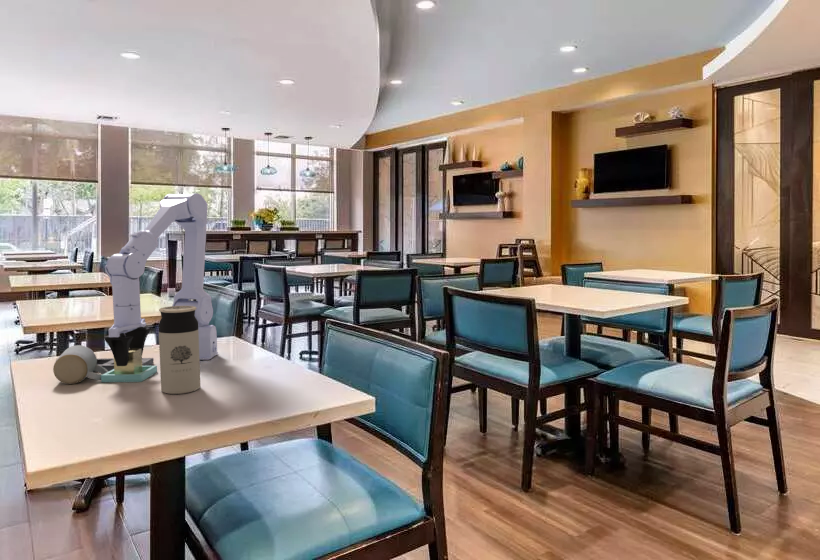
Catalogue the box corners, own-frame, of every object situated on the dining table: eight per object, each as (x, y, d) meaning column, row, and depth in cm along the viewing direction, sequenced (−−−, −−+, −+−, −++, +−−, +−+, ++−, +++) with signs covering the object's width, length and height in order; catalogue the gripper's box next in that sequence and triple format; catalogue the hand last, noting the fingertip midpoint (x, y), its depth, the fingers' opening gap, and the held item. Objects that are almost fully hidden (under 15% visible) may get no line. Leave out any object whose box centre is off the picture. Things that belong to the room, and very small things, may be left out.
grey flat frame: (153, 363, 151) (153, 357, 150) (140, 371, 143) (140, 365, 142) (83, 364, 150) (82, 358, 150) (65, 371, 142) (65, 365, 142)
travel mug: (165, 386, 129) (162, 306, 128) (202, 383, 131) (200, 304, 129) (157, 396, 122) (153, 311, 120) (197, 393, 123) (194, 309, 122)
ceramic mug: (51, 386, 129) (50, 352, 128) (61, 377, 137) (60, 345, 136) (104, 383, 132) (103, 350, 131) (111, 374, 140) (110, 343, 139)
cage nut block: (123, 373, 139) (122, 348, 139) (142, 372, 139) (141, 347, 139) (114, 377, 135) (113, 352, 134) (134, 377, 135) (133, 351, 134)
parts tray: (157, 372, 142) (156, 365, 142) (141, 381, 133) (141, 374, 133) (119, 372, 141) (119, 366, 141) (101, 382, 133) (101, 375, 132)
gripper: (130, 309, 128) (133, 369, 130) (156, 300, 143) (158, 355, 144) (97, 309, 128) (101, 369, 129) (127, 301, 143) (130, 355, 144)
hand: (129, 362), depth 137 cm, fingers open, 7 cm apart
